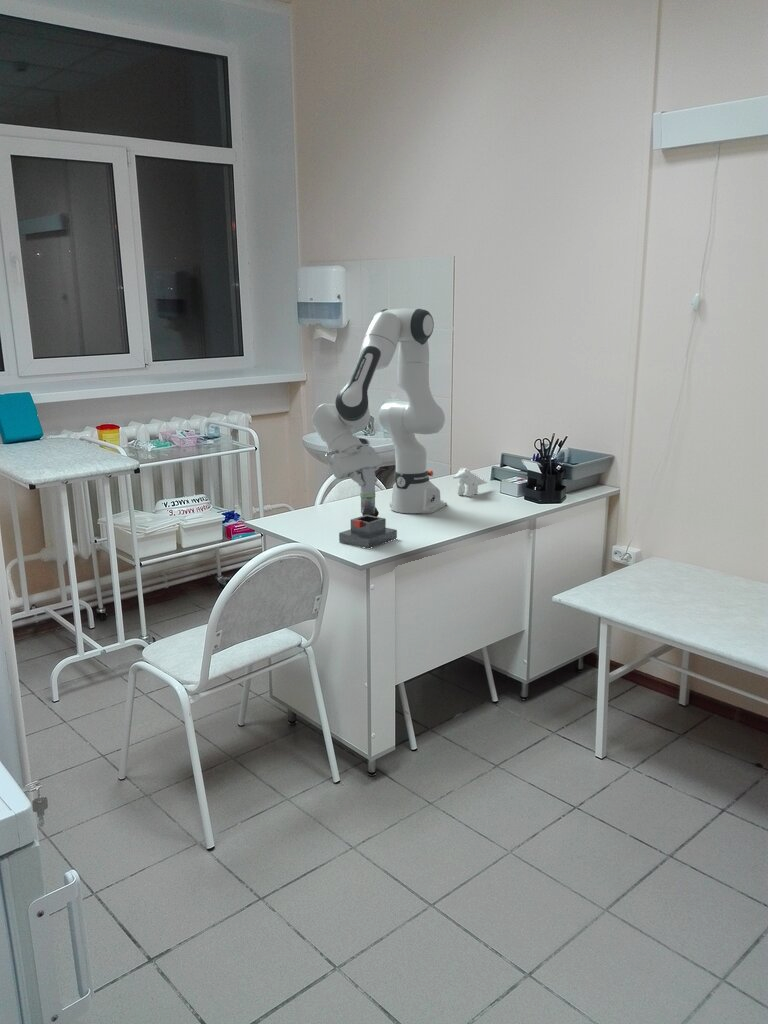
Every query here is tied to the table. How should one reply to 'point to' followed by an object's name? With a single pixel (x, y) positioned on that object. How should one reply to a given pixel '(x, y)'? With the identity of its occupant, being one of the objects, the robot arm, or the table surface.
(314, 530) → the table surface
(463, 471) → the dinosaur statue
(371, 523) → the stand base
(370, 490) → the column
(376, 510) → the bolt
